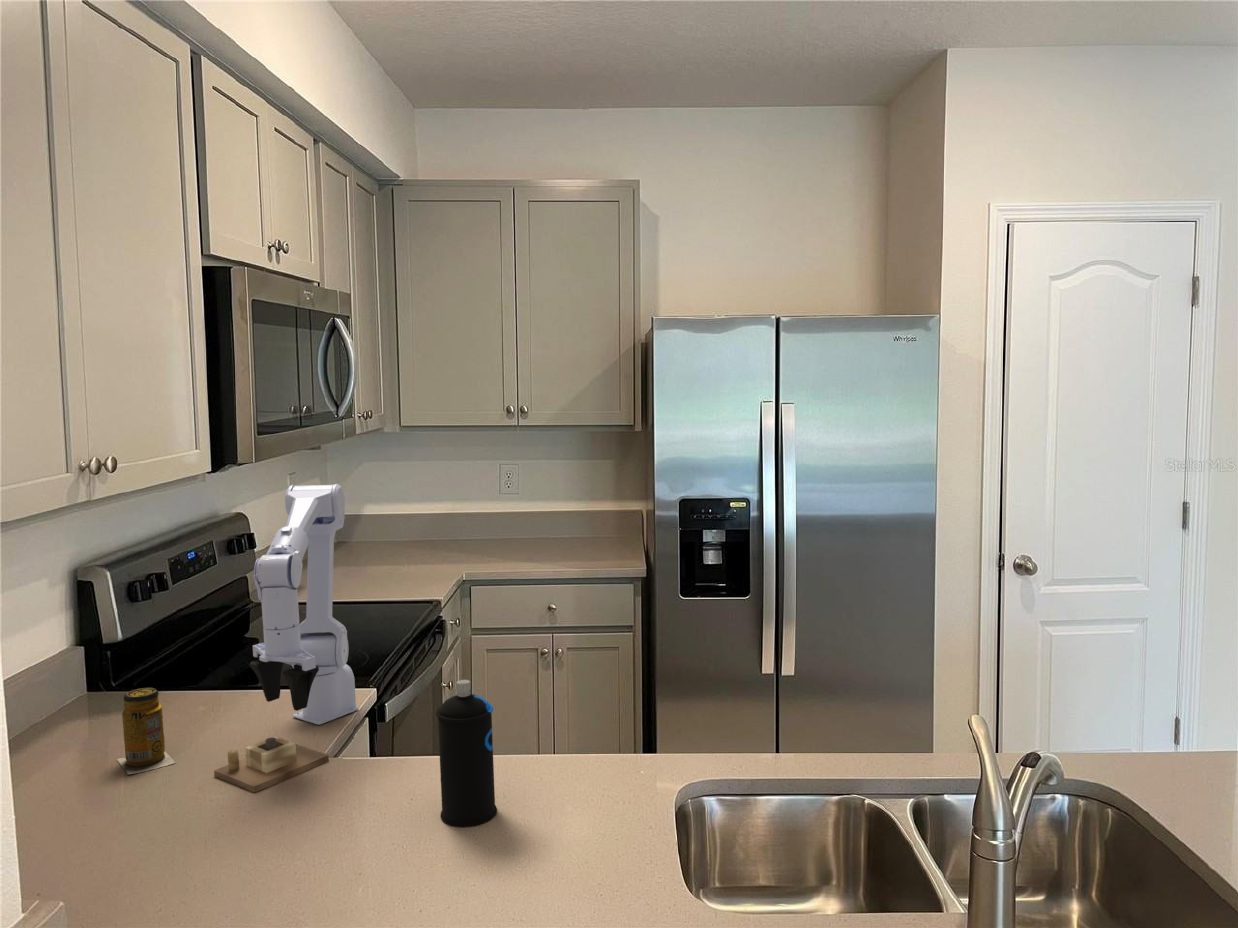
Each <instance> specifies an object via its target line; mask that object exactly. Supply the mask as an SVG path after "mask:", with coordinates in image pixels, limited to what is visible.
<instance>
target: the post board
mask: <svg viewBox="0 0 1238 928" xmlns="http://www.w3.org/2000/svg"><path fill="white" fill-rule="evenodd" d="M274 737H275V736H271V737H268V738H266V739H265V740H266V751H269V750H272V749H274V748H276V738H274ZM239 756H240V755H239V749H231V750H229V751H227V763H228V764H227V765H225V766H222V767H219V768H217V769H214V770H213V772H214V778H217V779H221V781H224V782H227V783H230V784H232V785H234V786H237V787H240V788H243V789H244V790H247V791H249V792H252V793H254V794H255V793H258V792H260V791H261V790H262V791H263V790H264V789H267V788H269V787H271V786H274V785H276V784H277V783H280V782H282V781H286V780H287V779H290V778H292V777H295V776H297V775H299V774H302V773H303V772H306V771H308V770H310V769H312V768H315V767H316V768H317V766H320V765H322V764H324V763H327V762H329V761H330V760H329V758H330V757H329V755H328V754H326V753H324V752H320V751H318V750H315V749H312V748H308V747H306V746H303V745H300V744H297V743H296V759H297V761H295V762H293V763H290V764H288V765H285V766H283V767H280V768H278V769H276V770H273V771H271V772H268V773H265V772H263V771H260V770H257V769H255V768H252V767H250V766H247V765H246V757H245V758H242V759H240V758H239Z"/></svg>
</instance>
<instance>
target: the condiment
mask: <svg viewBox="0 0 1238 928" xmlns="http://www.w3.org/2000/svg"><path fill="white" fill-rule="evenodd" d="M123 702H124V703H123V708H124V709H123V710H122V713H121V716H122V731H123V742H124V744H123V745H124V754H125V755H124V756H125V757H121V758H117V759H116V761H117V762H118V763H119V765H120V766H121V767H122V769H123V770H124V772H126V774H127V775H132V774H134V775H135V774H138V773H142V772H147V771H151V770H154V769H155V770H157V769H159V768H163V767H166V766H169V765H173V764H176V762H175V760H174V758H172V756H170V755H169V753H167V751H166V750H165V749H166V744H165V742H166V741H165V733H164V720H163V718H164V717H163V707H162V704H160V698H159V691H158V689H157V688H153V687H143V688H137V689H132V690H129V691H128V692H127V693H125V694H124V696H123Z"/></svg>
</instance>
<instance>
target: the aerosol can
mask: <svg viewBox="0 0 1238 928" xmlns="http://www.w3.org/2000/svg"><path fill="white" fill-rule="evenodd" d="M493 711H494V706H493V705H492V704H491V703H490V702H488V701H487V700H486V699H485V698H484V697H482V696H480V695H477V694H473V693H472V692H471V680H469V679H461V680H458V681H456V695H454V696H451V697H449V698H447V699H446V700H445V701H444V702H443V703H442V704H441V705H440V706H439V707H438V708H437V709H436V711H435V716H436V718H437V723H438V724H437V727H438V745H439V746H438V747H439V748H438V750H439V771H440V772H439V773H440V790H441V791H440V794H441V811H440V819H441V821H443V823H445V824H446V825H448V826H453V827H458V828H468V827H475V826H480V825H483V824H485V823H488V822H489V821H491V820H492V819H493V818H494V817H495V816H496V814H497V812H498V808H497V805H496V797H495V794H496V793H495V773H494V771H495V769H494V768H495V767H494V744H493V742H494V741H493V723H492V722H493V719H492V718H493V716H492V715H493Z"/></svg>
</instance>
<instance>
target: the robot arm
mask: <svg viewBox="0 0 1238 928" xmlns="http://www.w3.org/2000/svg"><path fill="white" fill-rule="evenodd" d="M285 492H286V493H285V496H284V497H285V498H284V504H285V505H284V507H285V511H286V513H287V517H288V518H287V521H286V524H285V526H282V527H281V528H279V529H278V530H277V532H276V533H275V535H274V538H273V539H272V541H271V544H270V545H269V548H268V550H267V552H266V553H265V554H263V555H261V557H258V558H257V559H256V560H255V563H254V568H253V581H254V586H255V588H256V592H257V598H258V601H261V613H262V614H261V615H262V629H263V630H262V631H263V642H259V643H257V644H254V645H252V655H253V657H254V658H256V660H252V661H251V662H250V663H249V665H250V666H249V667H250V668H251V669H252V671H253V672H254V674H255V675H256V677H257V679H258V681H259V683H260V686H261V689H262V691H263V695H264V697H265V700H266V702H268V703H270V702H272V701H275V700H278V699H280V696H281V679H282V677H281V676H282V675H283V676H284V678H285V680H286V683H287V685H288V688H289V689H288V690H289V692H290V699H291V704H292V708H293V710H294V711H295V712H296V713H293V715H292V717H293V718H294V719H295V718H296V719H299V720H302V721H305V722H307V723H311V724H315V725H322V724H324V723H328V722H330V721H333V720H335V719H338V718H341V717H343V716H346V715H348V714H350V713H354V712H356V711H358V710H359V709H360V708H359V706H357V700H356V699H357V697H356V685H355V684H356V683H355V680H356V679H355V676H354V673H353V670H352V668H351V666H350V665H348V664H347V662H348V660H349V659H348V658H349V639H348V630H347V628H346V626H345V625H344V624H343V623H341V622H340V621H339V620H337V619H336V618H335V617H334V616H333V598H334V597H333V596H334V595H333V592H334V591H333V590H334V558H335V557H334V554H335V553H334V552H335V550H334V548H335V537H336V532H337V531H339V530H340V529H342V528H343V527H344V523H345V515H346V514H345V508H346V499H345V497H346V496H345V492H344V489H343V487H342V486H341V485H340V484H339V483H334V484H320V485H319V484H315V485H314V484H312V485H294V484H291V485H290V486H289V487H288V488H287V489H286V491H285ZM306 551H307V575H306V576H307V577H306V579H307V581H306V608H305V609H306V610H305V612H306V614H305V619H304V620H303V621H301V623H300V611H299V610H300V609H299V597H298V596H299V593H298V587H299V586H300V584H301V580H302V574H303V573H302V571H303V566H304V565H303V559H304V556H305V554H306ZM323 633H332V634H326V635H323ZM309 634H317V635H309ZM318 634H322V635H318ZM284 664H286V665H290V666H291V667H292V668H290V669H287V670H286V669H285V670H284V671H282V670H283V665H284ZM297 711H299V712H297Z"/></svg>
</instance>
